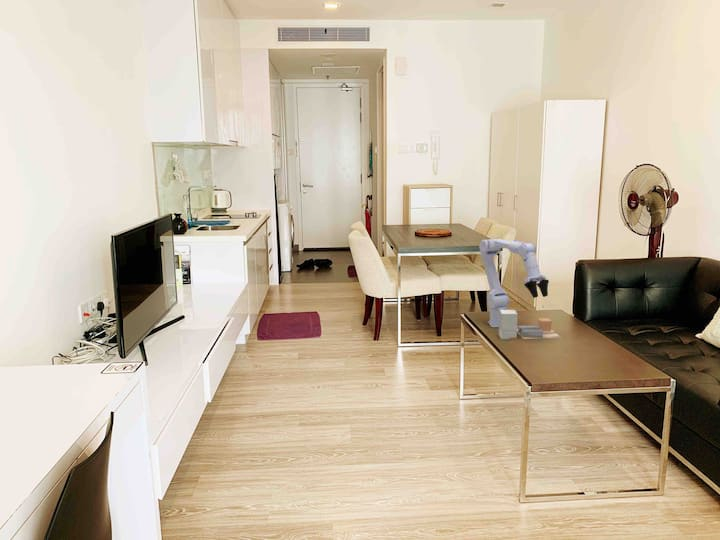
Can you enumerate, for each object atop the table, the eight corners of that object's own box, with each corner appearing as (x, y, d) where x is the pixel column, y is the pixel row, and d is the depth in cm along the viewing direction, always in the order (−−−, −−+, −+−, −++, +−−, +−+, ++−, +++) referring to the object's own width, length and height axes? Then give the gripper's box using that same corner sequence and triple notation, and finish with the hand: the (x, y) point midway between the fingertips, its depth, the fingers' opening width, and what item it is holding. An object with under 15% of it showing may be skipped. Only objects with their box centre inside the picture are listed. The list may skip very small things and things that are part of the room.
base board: (512, 328, 274) (513, 321, 273) (549, 328, 274) (549, 321, 273) (523, 340, 256) (523, 332, 256) (561, 340, 256) (562, 332, 256)
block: (537, 328, 272) (537, 318, 271) (547, 328, 272) (548, 318, 271) (540, 331, 267) (541, 321, 266) (550, 331, 267) (551, 321, 266)
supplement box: (513, 335, 265) (515, 309, 262) (516, 340, 257) (518, 313, 255) (498, 334, 265) (499, 309, 263) (500, 339, 258) (501, 313, 256)
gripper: (530, 266, 247) (538, 295, 244) (548, 265, 256) (557, 293, 253) (517, 270, 253) (525, 299, 249) (536, 270, 262) (544, 297, 258)
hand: (540, 296), depth 252 cm, fingers open, 7 cm apart
